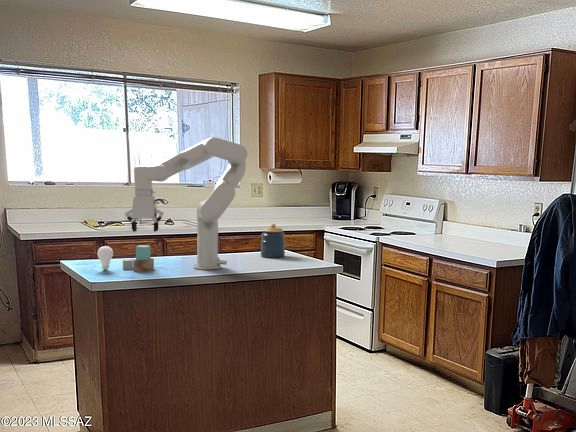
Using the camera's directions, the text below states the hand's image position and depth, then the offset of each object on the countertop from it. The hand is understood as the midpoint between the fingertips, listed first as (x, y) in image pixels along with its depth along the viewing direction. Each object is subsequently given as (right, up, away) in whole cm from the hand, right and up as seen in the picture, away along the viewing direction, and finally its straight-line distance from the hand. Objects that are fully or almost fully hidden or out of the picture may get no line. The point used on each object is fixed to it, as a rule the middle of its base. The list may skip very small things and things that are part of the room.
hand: (145, 231), depth 237 cm
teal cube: (-1, -13, +1) cm, 13 cm away
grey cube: (-9, -17, +4) cm, 20 cm away
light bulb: (-17, -18, -2) cm, 25 cm away
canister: (+56, -15, +46) cm, 74 cm away
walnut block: (-1, -18, +1) cm, 18 cm away
